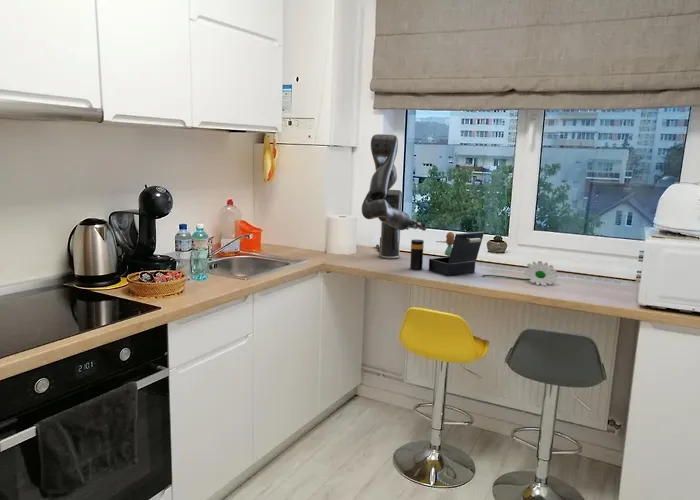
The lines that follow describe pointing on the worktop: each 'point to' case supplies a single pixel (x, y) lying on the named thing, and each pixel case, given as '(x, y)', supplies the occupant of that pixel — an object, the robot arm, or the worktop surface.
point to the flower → (537, 273)
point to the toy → (448, 243)
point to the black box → (451, 267)
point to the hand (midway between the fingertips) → (416, 227)
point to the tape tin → (416, 254)
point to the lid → (466, 247)
